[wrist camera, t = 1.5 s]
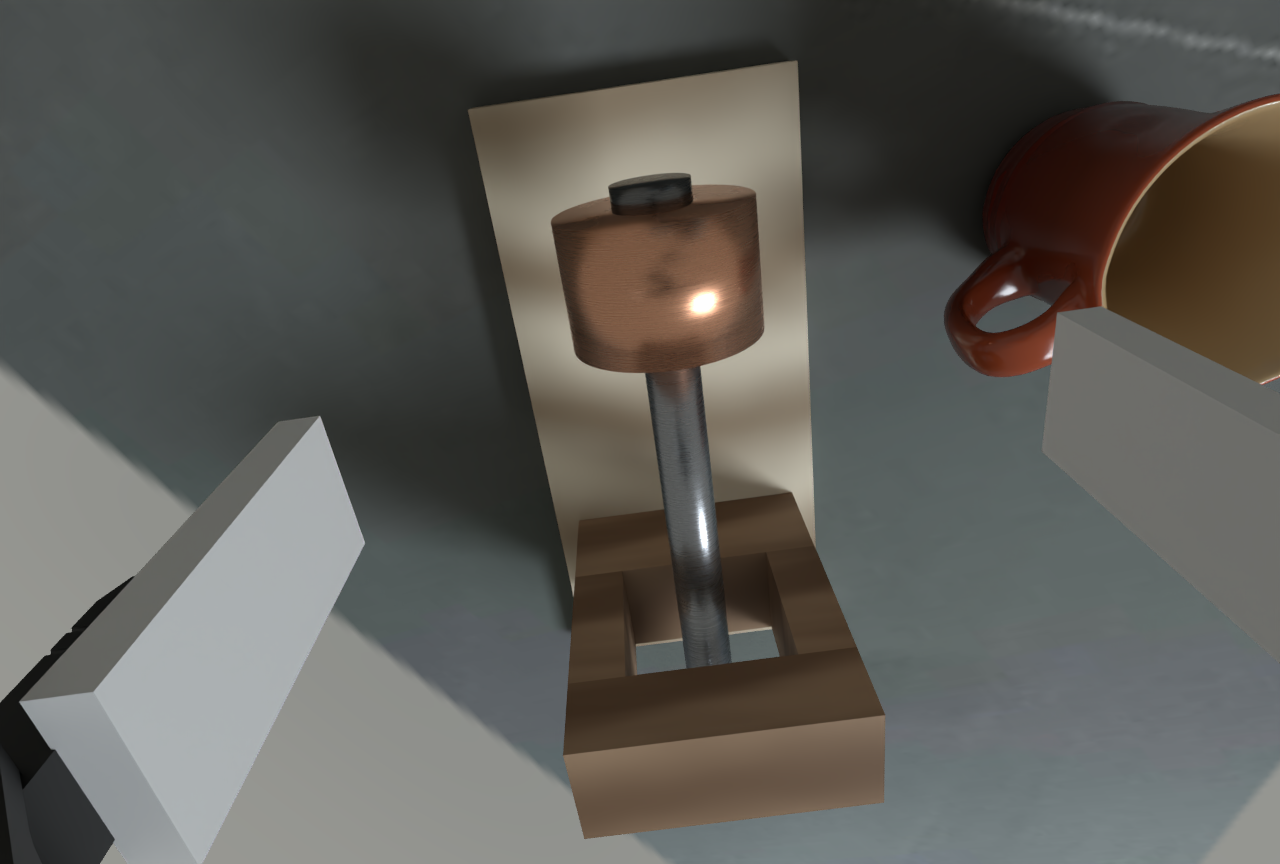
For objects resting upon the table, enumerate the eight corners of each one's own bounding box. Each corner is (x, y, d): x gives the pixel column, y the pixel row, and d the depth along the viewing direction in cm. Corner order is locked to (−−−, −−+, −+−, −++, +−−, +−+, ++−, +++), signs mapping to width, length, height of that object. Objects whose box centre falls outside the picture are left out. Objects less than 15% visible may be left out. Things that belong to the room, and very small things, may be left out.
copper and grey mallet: (553, 180, 25) (537, 215, 19) (737, 153, 24) (773, 181, 19) (647, 713, 35) (654, 831, 30) (776, 697, 35) (807, 813, 30)
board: (473, 107, 29) (467, 109, 27) (790, 60, 28) (797, 60, 27) (586, 636, 40) (585, 652, 39) (812, 607, 40) (818, 623, 39)
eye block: (578, 520, 35) (563, 755, 24) (792, 492, 35) (885, 714, 23) (592, 588, 37) (584, 838, 25) (795, 561, 37) (883, 802, 25)
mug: (1144, 32, 28) (1401, 21, 19) (1191, 237, 32) (1428, 311, 23) (847, 199, 31) (950, 260, 21) (922, 373, 34) (1038, 489, 25)
